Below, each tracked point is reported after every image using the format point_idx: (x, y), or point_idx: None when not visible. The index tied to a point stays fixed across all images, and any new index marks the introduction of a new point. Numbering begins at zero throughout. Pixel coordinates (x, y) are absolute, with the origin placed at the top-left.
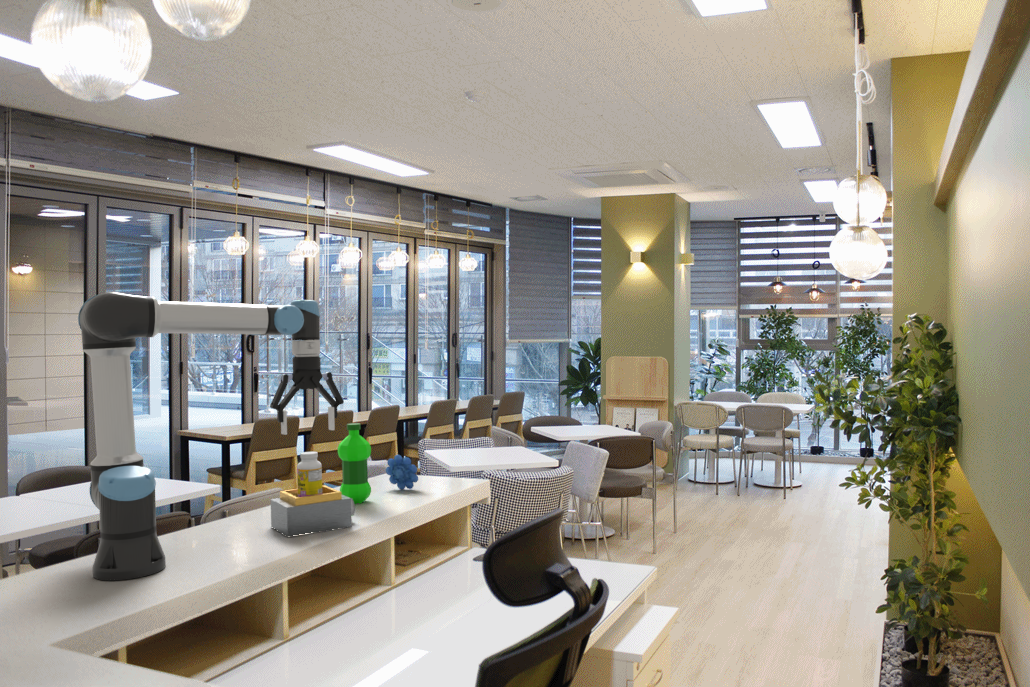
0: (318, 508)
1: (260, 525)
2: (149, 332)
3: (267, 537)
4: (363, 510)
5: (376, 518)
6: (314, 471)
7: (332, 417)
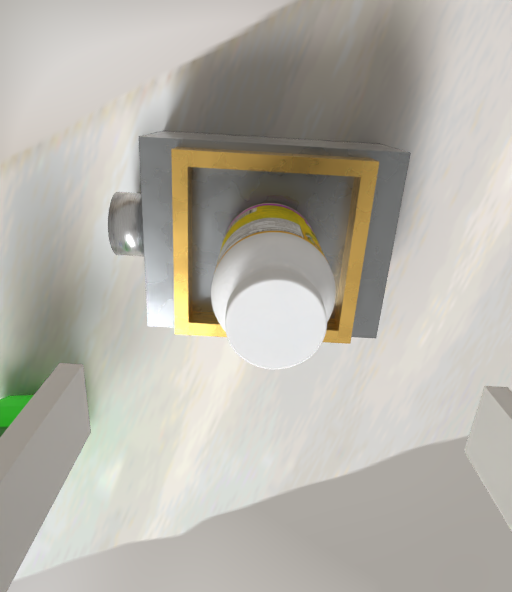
0: (279, 143)
1: (364, 342)
2: None
3: (419, 194)
4: (54, 312)
5: (52, 185)
6: (273, 228)
7: (19, 445)
